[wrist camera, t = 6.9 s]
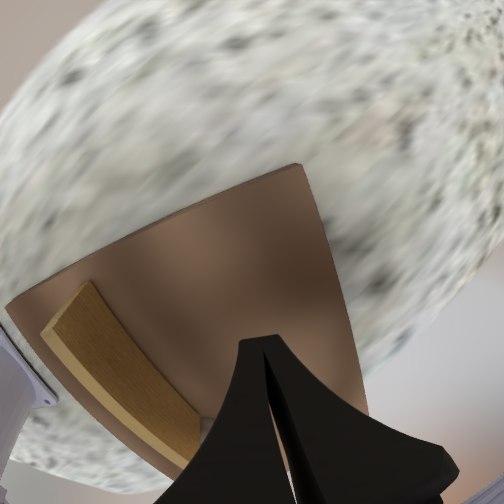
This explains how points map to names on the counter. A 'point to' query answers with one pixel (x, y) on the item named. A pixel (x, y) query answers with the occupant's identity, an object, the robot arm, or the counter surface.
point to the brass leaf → (121, 375)
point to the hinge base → (212, 299)
